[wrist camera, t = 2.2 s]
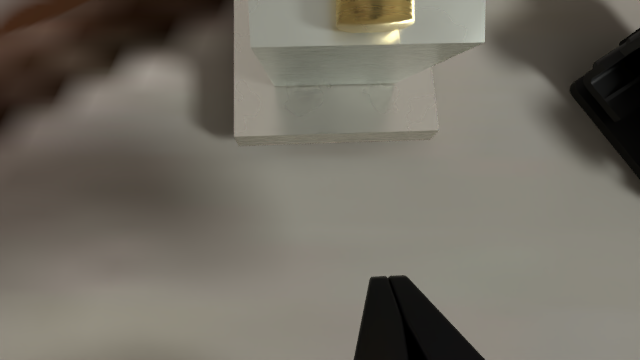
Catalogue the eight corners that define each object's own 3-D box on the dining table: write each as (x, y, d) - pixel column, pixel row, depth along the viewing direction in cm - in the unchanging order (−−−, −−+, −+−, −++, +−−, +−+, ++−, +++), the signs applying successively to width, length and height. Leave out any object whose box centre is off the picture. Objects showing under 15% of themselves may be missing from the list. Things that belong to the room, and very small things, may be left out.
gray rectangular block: (422, 148, 23) (439, 130, 20) (243, 154, 23) (233, 136, 20) (405, -8, 25) (419, -45, 22) (242, -5, 25) (233, -42, 22)
